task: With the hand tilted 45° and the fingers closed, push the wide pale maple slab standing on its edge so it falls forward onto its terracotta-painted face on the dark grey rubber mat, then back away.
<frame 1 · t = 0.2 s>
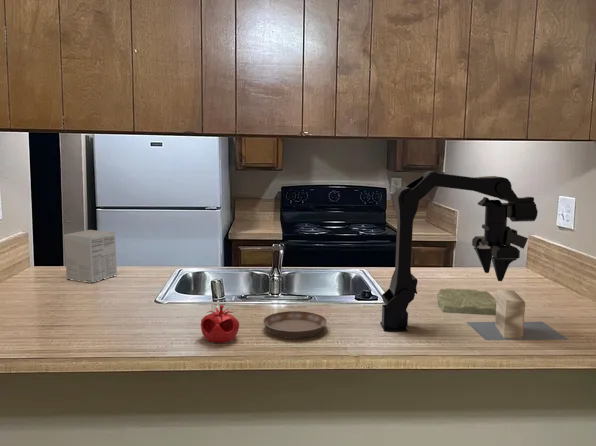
hand: (493, 276, 145), 15 cm above the worktop, tool pointing down, fingers open, 9 cm apart
plant saucer: (294, 331, 145), on the worktop
supplement box: (92, 278, 198), on the worktop
rubber mat: (515, 332, 144), on the worktop
maple block: (507, 332, 143), resting on rubber mat
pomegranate: (220, 340, 137), on the worktop
decorative tile: (465, 307, 168), on the worktop
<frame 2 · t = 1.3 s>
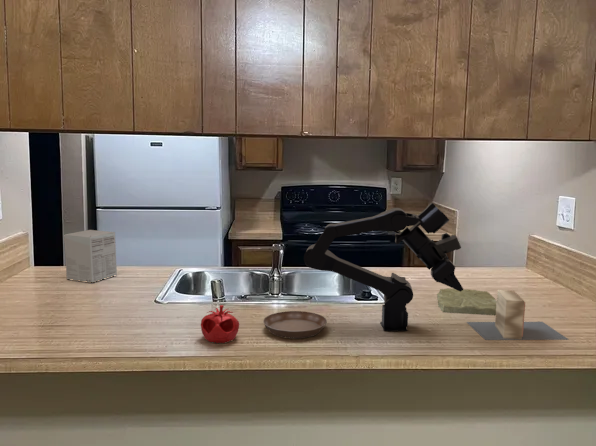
hand: (459, 286, 143), 13 cm above the worktop, tool tilted 45°, fingers open, 8 cm apart
nothing on the worktop moved.
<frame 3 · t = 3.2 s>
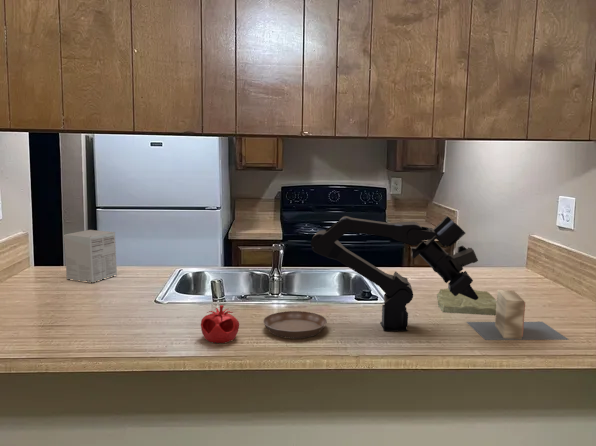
hand: (477, 298, 142), 10 cm above the worktop, tool tilted 45°, fingers closed
nothing on the worktop moved.
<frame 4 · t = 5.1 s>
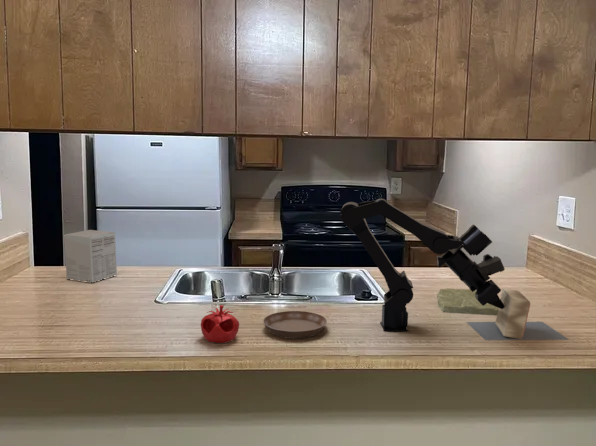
hand: (503, 307, 142), 7 cm above the worktop, tool tilted 45°, fingers closed
maple block: (507, 331, 142), point 1 cm above the worktop, tilted 8°, touching rubber mat
everything else where it was.
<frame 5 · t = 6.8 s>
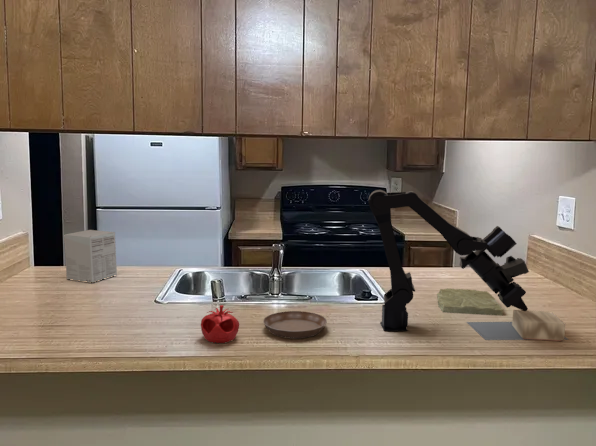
hand: (526, 309, 141), 7 cm above the worktop, tool tilted 45°, fingers closed
maple block: (517, 323, 142), point 3 cm above the worktop, tilted 90°, touching rubber mat
everything else where it was.
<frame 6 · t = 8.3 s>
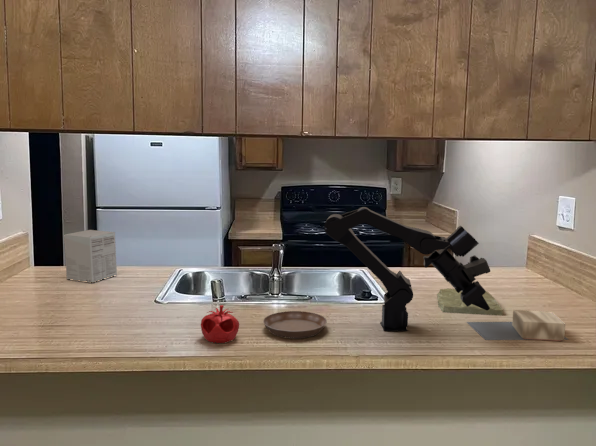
hand: (488, 309, 142), 7 cm above the worktop, tool tilted 45°, fingers closed
nothing on the worktop moved.
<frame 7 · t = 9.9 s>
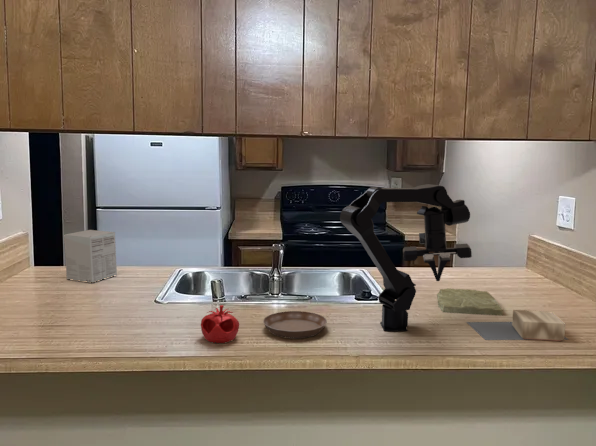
hand: (437, 280, 150), 12 cm above the worktop, tool pointing down, fingers closed
nothing on the worktop moved.
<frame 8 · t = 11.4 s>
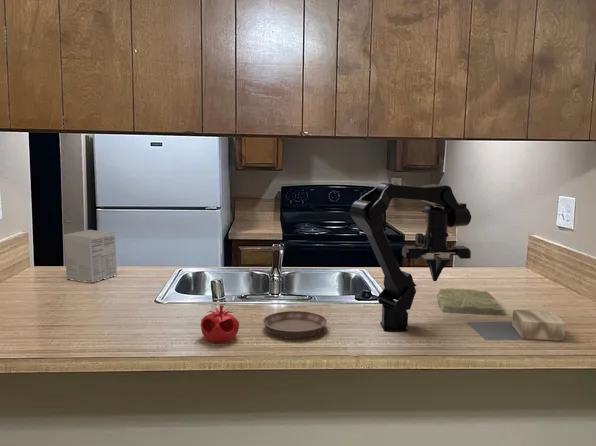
hand: (434, 280, 151), 12 cm above the worktop, tool pointing down, fingers closed
nothing on the worktop moved.
at the end: maple block tilted 90°; maple block inside the target area (3.6 cm from its centre), point 3.1 cm above the worktop; maple block touching rubber mat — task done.
